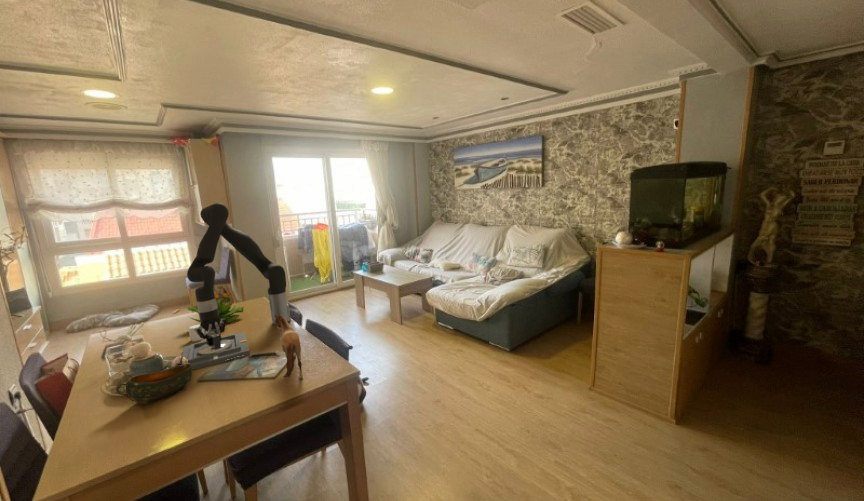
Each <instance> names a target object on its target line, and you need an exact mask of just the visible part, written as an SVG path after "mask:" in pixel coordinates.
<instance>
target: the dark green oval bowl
mask: <svg viewBox="0 0 864 501" xmlns="http://www.w3.org/2000/svg"><path fill="white" fill-rule="evenodd" d="M192 375H193V370H192V367H191V364H184V365H177V366H174V367H171V368H168V369H164V370H160V371H155V372H149V373H140V374H136V375H133V376H131V377H129V378H128V379H127V381H126V382H120V383H118V384H116V387H115V392H116V393H117V394H118V395H121V396H123V397H126V398H128V399H129V400H131V402H135V403H137V404H139V406H149V405H152V404H156V403H158V402H161V401H163V400H166V399H169V398H171V397H173V396H175V395H177V394H179V393H181V392H183V391H185V390H186V389H187V386H188V385H189V383H190V381H191V379H192ZM122 386H125V393H123V392H121V391H120V390H119V389H120V388H121V387H122ZM185 388H186V389H185ZM182 390H183V391H182Z"/></svg>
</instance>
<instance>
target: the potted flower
mask: <svg viewBox="0 0 864 501" xmlns="http://www.w3.org/2000/svg"><path fill="white" fill-rule="evenodd" d="M214 295H215V299H216V302H217V307H218V312H219V318H220V319H226V320H227V322H226V323H232V322H235V320H237V319H238V318H239V317H240V316H241V315H240V314H239V313H244V307H245V306H236V305H234V306H233V307H232V305H233V303H234V302H229V299H230V294H229V293H227V292H226V293H221V296H222V300H220V296H219V295H218V294H214ZM231 307H232V308H231ZM186 308H187V311H192V312H196V313H197V314H199V312H198V307H197V305H192V306H187V307H186ZM236 313H238V314H236ZM190 319H191V320H193V321H196V322H198V323H201V321H200V319H197V318H193V317H190ZM220 324H221V323H219V325H218V326H219V327H220Z"/></svg>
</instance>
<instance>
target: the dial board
mask: <svg viewBox="0 0 864 501" xmlns="http://www.w3.org/2000/svg"><path fill="white" fill-rule="evenodd" d="M225 339H227V340H231V341H232V343H233V344H232V346H231V347H230V348H228V349H226V350H222V351H218V352H215V353H211V354H207V355H199V354H198V352H197V350H198V348H200V347H201V346H203V345H205V344H207V341H206V340H202V341H197V342H195V343H190V345H186V346H183V348H182V349H183V350H182V355H181V357H182V356H183V357H185V358H187V359H188V363H190V364H191V367H192V369H195V370H198V369H202V368H205V367H208V366H212V365H213V366H214V365H216V364H221V363H223V362H222V361H224V362H226V361H225V360H227V359H231V358H234V357H237V356H242V355H246V356H250V355H249V354H250V349H249V345H248V340H247V336H246V332H245V331H243V332H241V333H238V332H237V333H236V332H235V333H233V334H228V335H225V336H221V340H225ZM242 357H243V356H242ZM231 360H232V359H231Z"/></svg>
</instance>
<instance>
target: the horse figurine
mask: <svg viewBox="0 0 864 501" xmlns="http://www.w3.org/2000/svg"><path fill="white" fill-rule="evenodd" d="M274 316H275V317H276V320H275V321H276V323H277V324H276V325H277V329H278V330H279V331H280V336H279V338H280V344H281V347H282V351H283V352H284V355H285V358H286V366H285V368H286V373H285V375H283V377H282V378H284V379H286V378H289V377H290V376H292V372H293V371H294V367H295V364H294V363H295V359H294V358H296V359H297V365H298V367H299V368H298V369H299V373H298V374H299V375H298V379H303V378H304V377H303V376H304V375H303V371H302V365H303V364H302V361H301V359H302V354H301V353H302V347H301V341H300V336H299V334H298V333H297V332H296V331H295V330H294V328H293V327H292V326H291V325H290V323H289V321H288V322H287V320H286V319H285V317H284V316H282V315H280V314H279V313H278V316H276V315H274Z"/></svg>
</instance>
